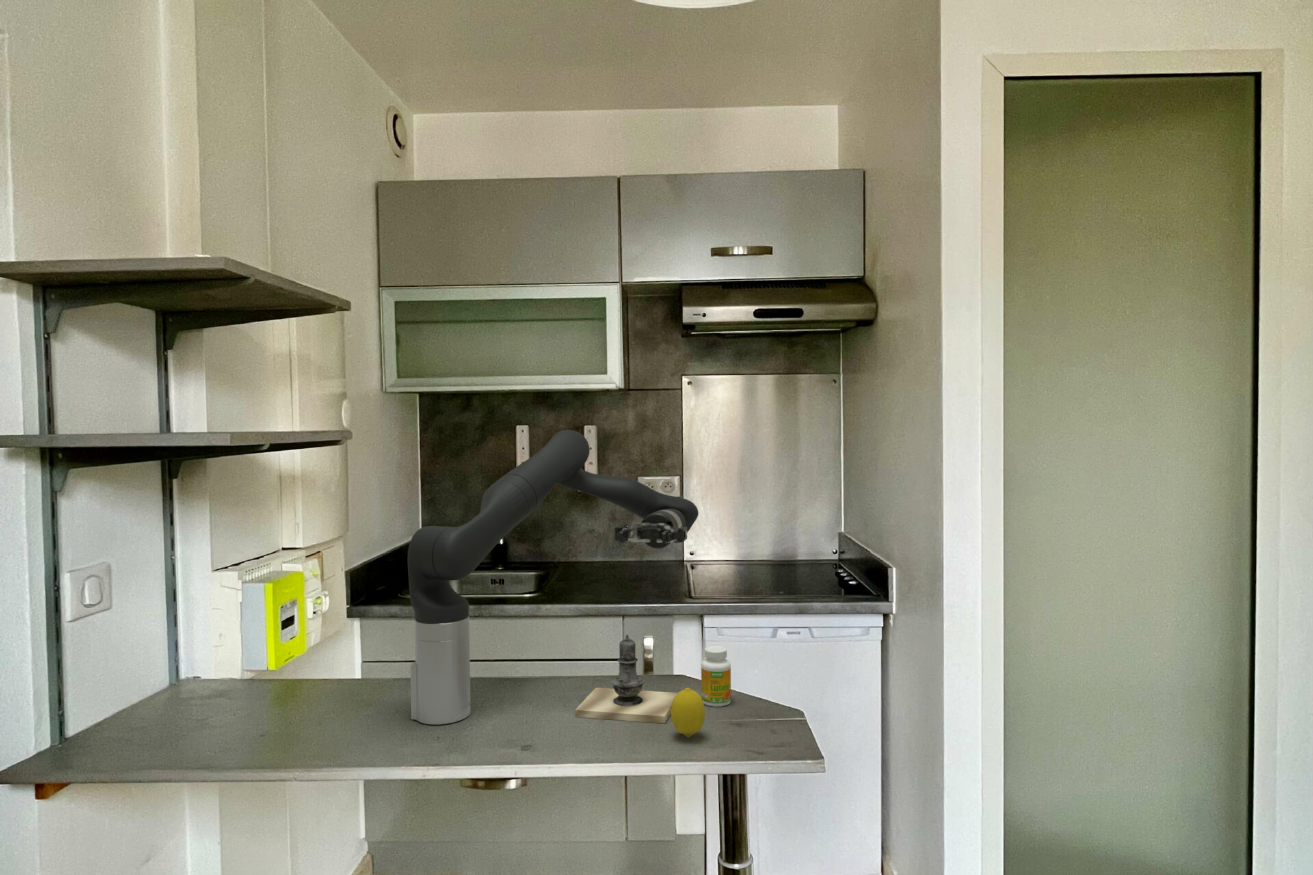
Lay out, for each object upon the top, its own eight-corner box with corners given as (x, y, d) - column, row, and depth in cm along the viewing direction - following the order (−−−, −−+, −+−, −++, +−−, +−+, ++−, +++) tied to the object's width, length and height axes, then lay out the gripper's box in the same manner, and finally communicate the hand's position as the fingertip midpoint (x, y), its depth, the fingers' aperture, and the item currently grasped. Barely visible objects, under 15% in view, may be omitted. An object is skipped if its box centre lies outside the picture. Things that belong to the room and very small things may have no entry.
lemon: (666, 741, 122) (665, 691, 122) (677, 728, 127) (676, 680, 127) (699, 746, 120) (699, 695, 120) (709, 732, 125) (708, 684, 125)
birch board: (575, 716, 133) (575, 709, 133) (596, 693, 145) (596, 687, 145) (664, 723, 129) (664, 716, 129) (678, 699, 141) (678, 692, 141)
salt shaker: (640, 707, 134) (639, 639, 134) (608, 705, 135) (607, 637, 135) (647, 696, 139) (646, 630, 139) (616, 694, 141) (615, 629, 141)
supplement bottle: (709, 709, 136) (708, 654, 136) (696, 699, 141) (696, 646, 141) (736, 704, 138) (735, 651, 138) (723, 695, 143) (722, 643, 143)
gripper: (629, 510, 165) (606, 517, 149) (694, 511, 161) (678, 519, 146) (629, 545, 165) (607, 556, 149) (694, 546, 161) (678, 558, 146)
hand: (642, 537), depth 147 cm, fingers open, 8 cm apart
